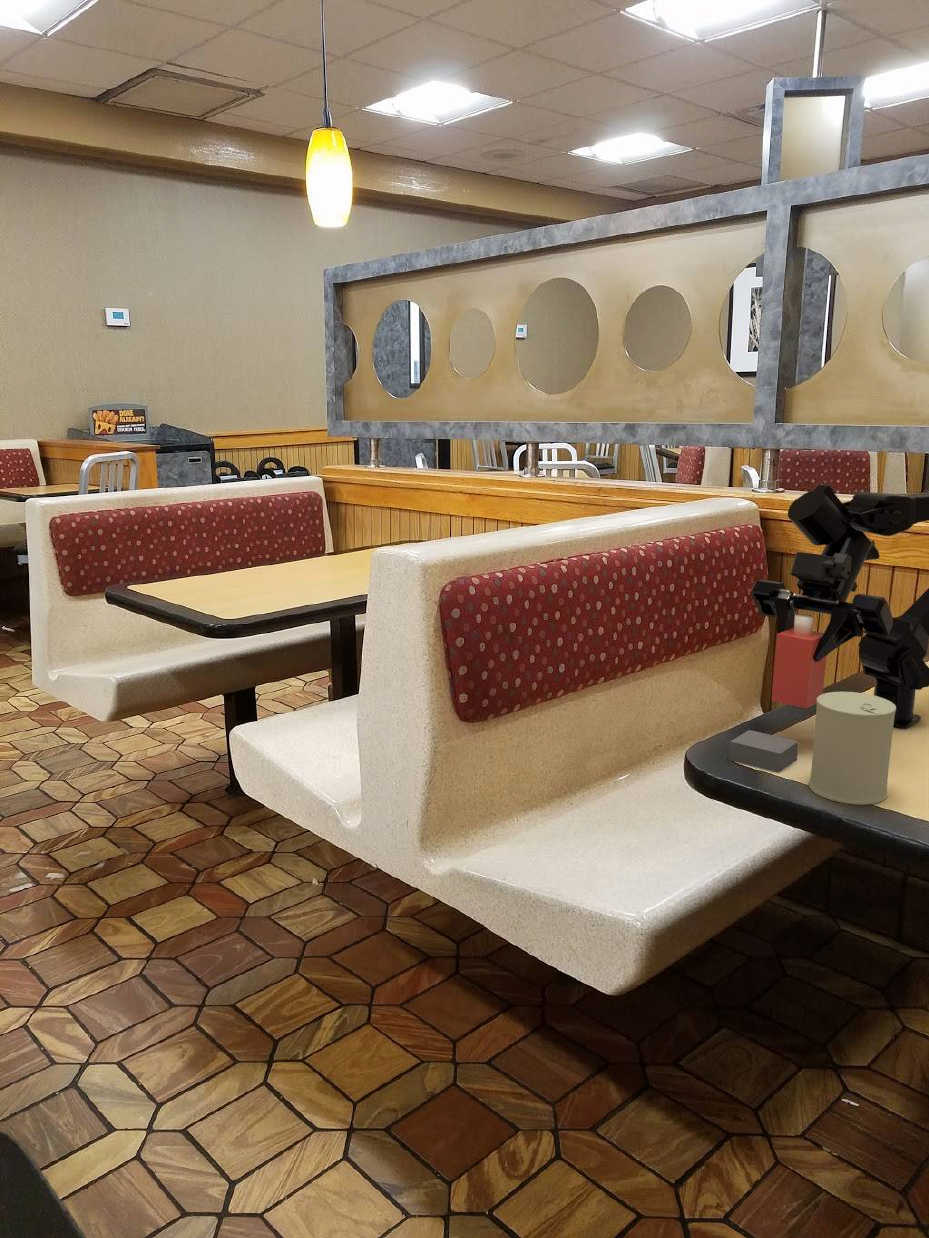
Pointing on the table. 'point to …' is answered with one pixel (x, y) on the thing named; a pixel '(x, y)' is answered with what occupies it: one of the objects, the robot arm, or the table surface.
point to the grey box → (763, 751)
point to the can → (852, 747)
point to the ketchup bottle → (798, 665)
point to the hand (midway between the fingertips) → (796, 656)
